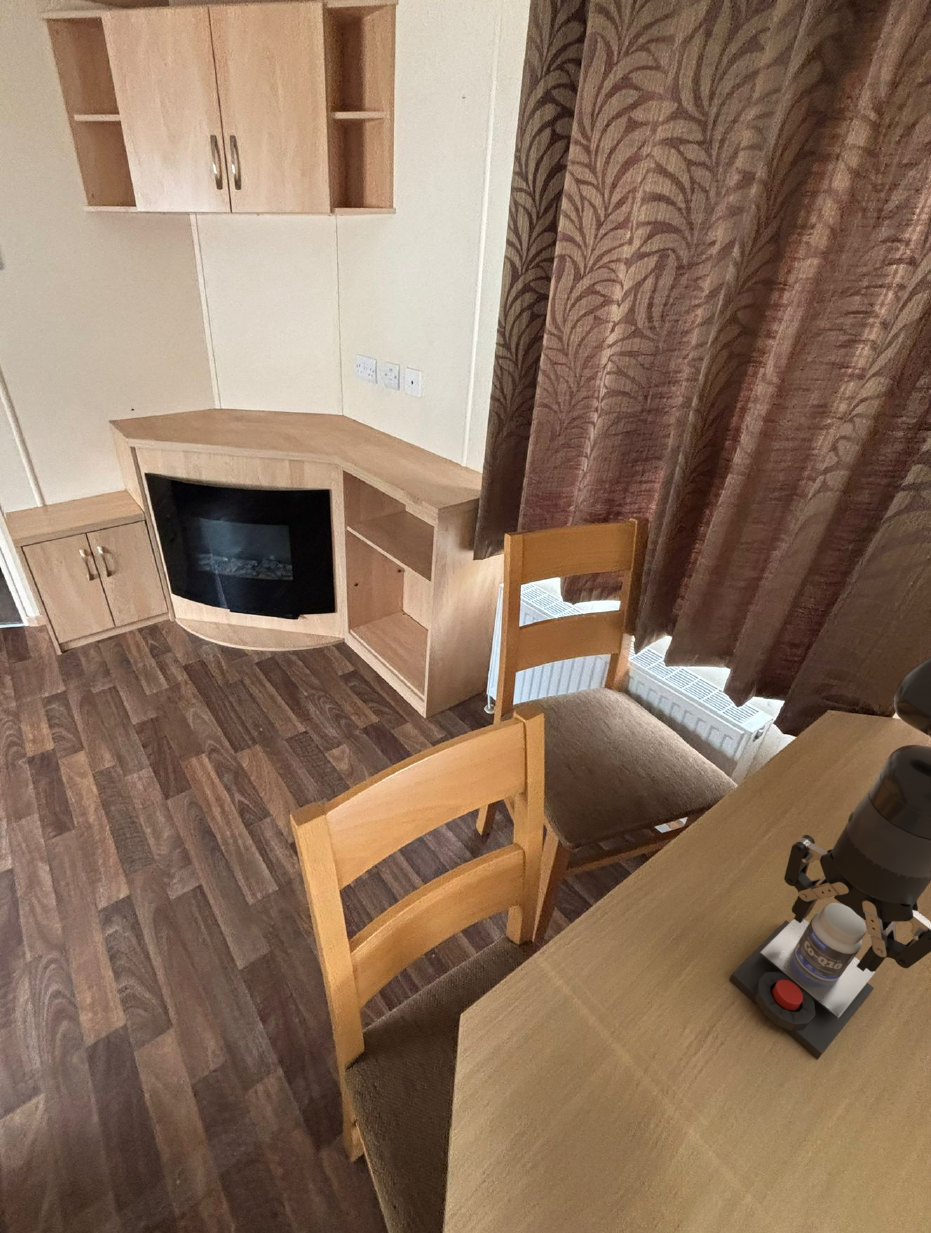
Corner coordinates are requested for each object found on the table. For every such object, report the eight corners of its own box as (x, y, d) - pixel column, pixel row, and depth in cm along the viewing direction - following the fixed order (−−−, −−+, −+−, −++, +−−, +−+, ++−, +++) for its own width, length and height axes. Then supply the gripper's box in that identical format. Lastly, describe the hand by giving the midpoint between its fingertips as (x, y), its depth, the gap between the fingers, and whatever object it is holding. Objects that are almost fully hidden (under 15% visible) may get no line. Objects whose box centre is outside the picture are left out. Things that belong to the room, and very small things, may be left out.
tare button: (779, 981, 70) (784, 974, 69) (803, 1001, 68) (807, 994, 67) (767, 995, 68) (771, 988, 68) (791, 1015, 66) (795, 1009, 66)
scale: (782, 926, 78) (790, 912, 76) (869, 994, 71) (879, 980, 69) (722, 986, 72) (729, 972, 70) (811, 1068, 65) (821, 1054, 63)
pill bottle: (788, 961, 71) (813, 918, 66) (801, 933, 74) (826, 890, 69) (835, 991, 68) (864, 949, 63) (846, 961, 71) (875, 919, 66)
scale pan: (797, 915, 76) (798, 913, 76) (874, 974, 70) (875, 972, 70) (759, 954, 72) (760, 952, 72) (837, 1019, 66) (838, 1017, 66)
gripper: (1000, 876, 56) (920, 975, 65) (833, 780, 66) (783, 876, 75) (968, 919, 53) (888, 1018, 61) (797, 810, 63) (749, 908, 72)
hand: (831, 939), depth 68 cm, fingers open, 6 cm apart
